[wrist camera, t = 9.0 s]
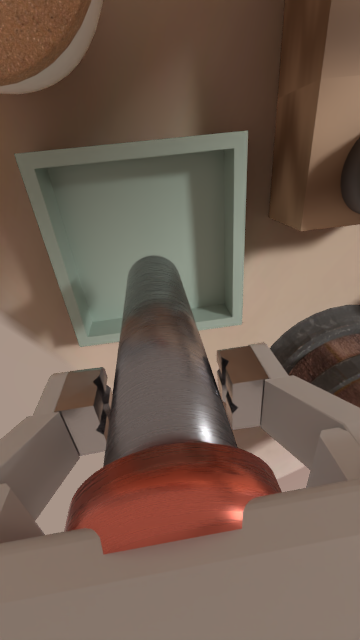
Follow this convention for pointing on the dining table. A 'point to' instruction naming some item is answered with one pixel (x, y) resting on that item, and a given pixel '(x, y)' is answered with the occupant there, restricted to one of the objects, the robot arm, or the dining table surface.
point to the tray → (142, 223)
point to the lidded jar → (43, 41)
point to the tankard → (325, 351)
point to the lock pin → (165, 431)
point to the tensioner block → (318, 117)
